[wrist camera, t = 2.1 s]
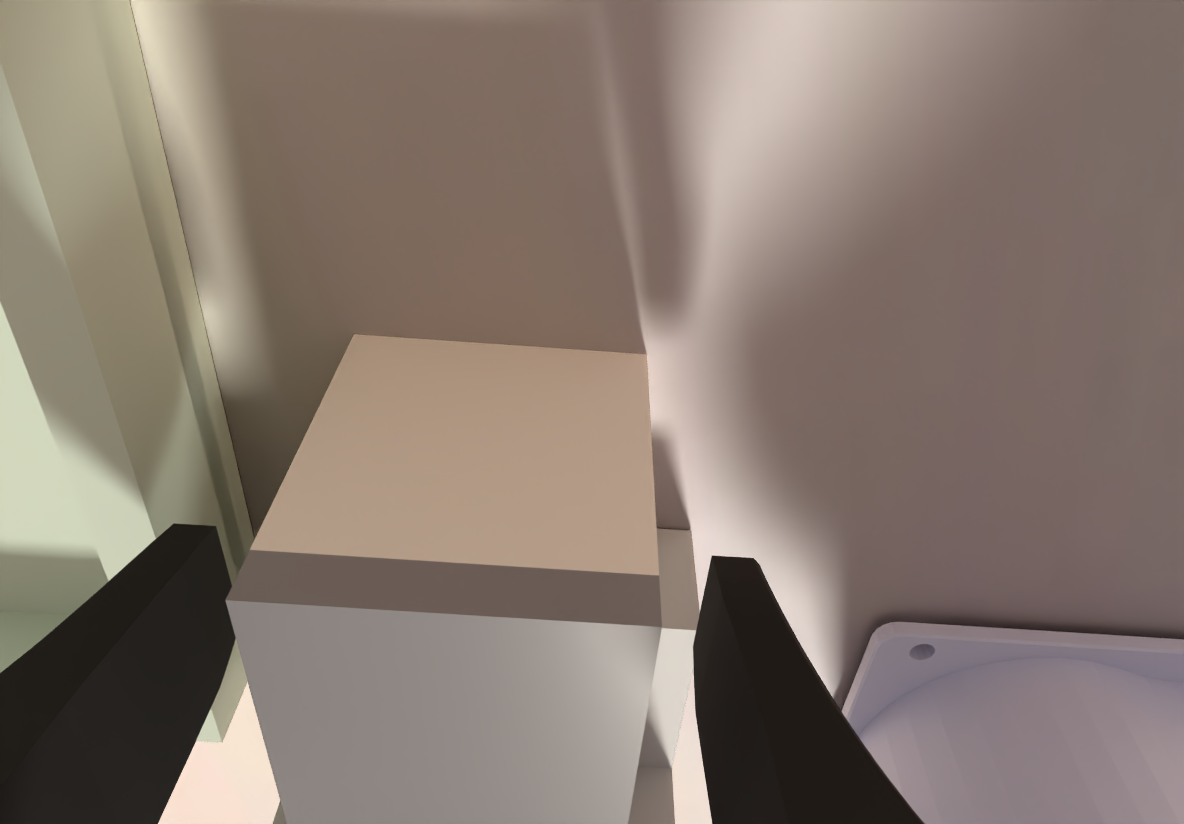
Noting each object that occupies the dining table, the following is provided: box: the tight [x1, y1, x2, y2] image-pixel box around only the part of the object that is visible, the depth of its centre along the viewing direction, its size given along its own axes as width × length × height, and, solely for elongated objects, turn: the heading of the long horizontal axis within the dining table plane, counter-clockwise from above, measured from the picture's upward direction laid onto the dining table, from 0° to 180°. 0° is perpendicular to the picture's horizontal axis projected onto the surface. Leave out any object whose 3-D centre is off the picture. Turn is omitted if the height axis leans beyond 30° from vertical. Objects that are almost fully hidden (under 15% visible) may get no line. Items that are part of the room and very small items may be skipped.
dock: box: [273, 528, 700, 824], centre depth 15 cm, size 8×5×8 cm
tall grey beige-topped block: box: [225, 334, 662, 824], centre depth 15 cm, size 5×8×6 cm, turn 176°
